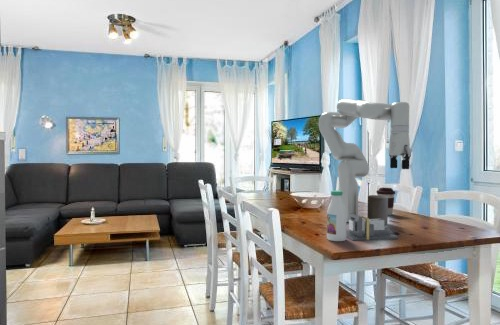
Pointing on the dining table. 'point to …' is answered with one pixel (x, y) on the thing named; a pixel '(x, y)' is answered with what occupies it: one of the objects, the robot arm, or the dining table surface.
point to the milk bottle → (336, 218)
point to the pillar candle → (378, 207)
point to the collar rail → (368, 231)
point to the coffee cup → (390, 195)
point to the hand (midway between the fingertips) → (399, 168)
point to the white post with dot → (377, 223)
